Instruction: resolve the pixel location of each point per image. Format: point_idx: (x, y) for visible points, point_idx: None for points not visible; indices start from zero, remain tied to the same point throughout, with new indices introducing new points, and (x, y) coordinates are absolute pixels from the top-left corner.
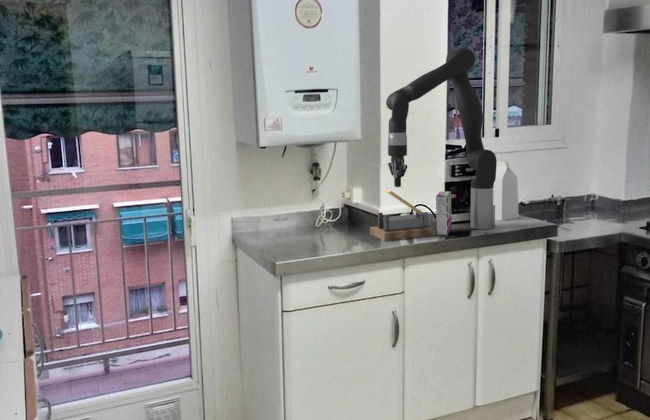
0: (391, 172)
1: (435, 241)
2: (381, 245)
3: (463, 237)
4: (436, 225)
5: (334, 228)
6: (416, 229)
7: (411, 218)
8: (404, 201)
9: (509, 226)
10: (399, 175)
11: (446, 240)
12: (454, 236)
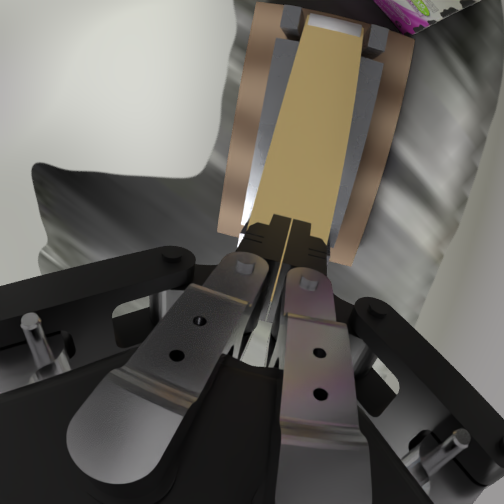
0: (146, 334)
1: (476, 128)
2: (383, 293)
3: (488, 15)
4: (416, 32)
5: (96, 249)
6: (385, 118)
7: (363, 125)
8: (341, 169)
9: None
10: (371, 371)
11: (489, 90)
12: (461, 18)
